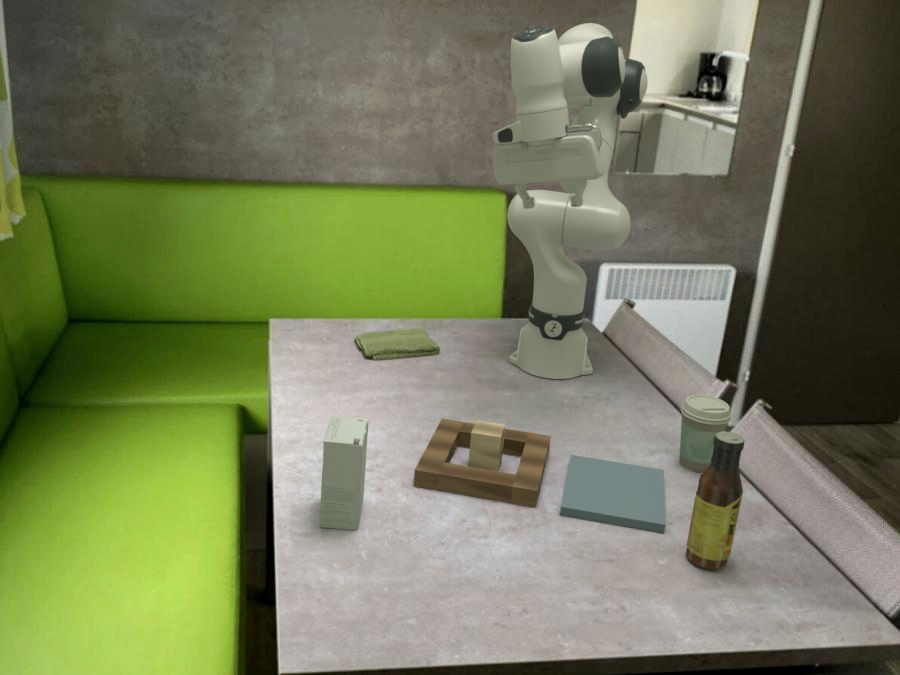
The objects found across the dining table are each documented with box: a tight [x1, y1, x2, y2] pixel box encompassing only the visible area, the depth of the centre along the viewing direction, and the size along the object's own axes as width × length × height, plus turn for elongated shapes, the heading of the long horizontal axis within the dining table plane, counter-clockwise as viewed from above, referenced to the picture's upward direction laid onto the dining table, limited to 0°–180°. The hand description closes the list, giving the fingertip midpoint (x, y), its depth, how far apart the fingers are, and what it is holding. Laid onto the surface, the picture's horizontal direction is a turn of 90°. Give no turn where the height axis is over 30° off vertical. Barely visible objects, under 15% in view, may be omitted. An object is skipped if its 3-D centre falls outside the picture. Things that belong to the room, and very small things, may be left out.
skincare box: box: [319, 415, 369, 531], centre depth 129 cm, size 8×6×15 cm
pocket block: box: [413, 417, 552, 508], centre depth 148 cm, size 20×20×3 cm
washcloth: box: [354, 326, 441, 362], centre depth 198 cm, size 13×18×3 cm
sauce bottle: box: [685, 430, 745, 571], centre depth 125 cm, size 7×6×20 cm
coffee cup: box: [678, 394, 732, 473], centre depth 154 cm, size 9×9×12 cm
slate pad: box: [559, 454, 666, 534], centre depth 143 cm, size 18×16×2 cm
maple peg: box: [467, 419, 506, 472], centre depth 148 cm, size 5×5×8 cm
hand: (552, 207), depth 154 cm, fingers open, 8 cm apart
